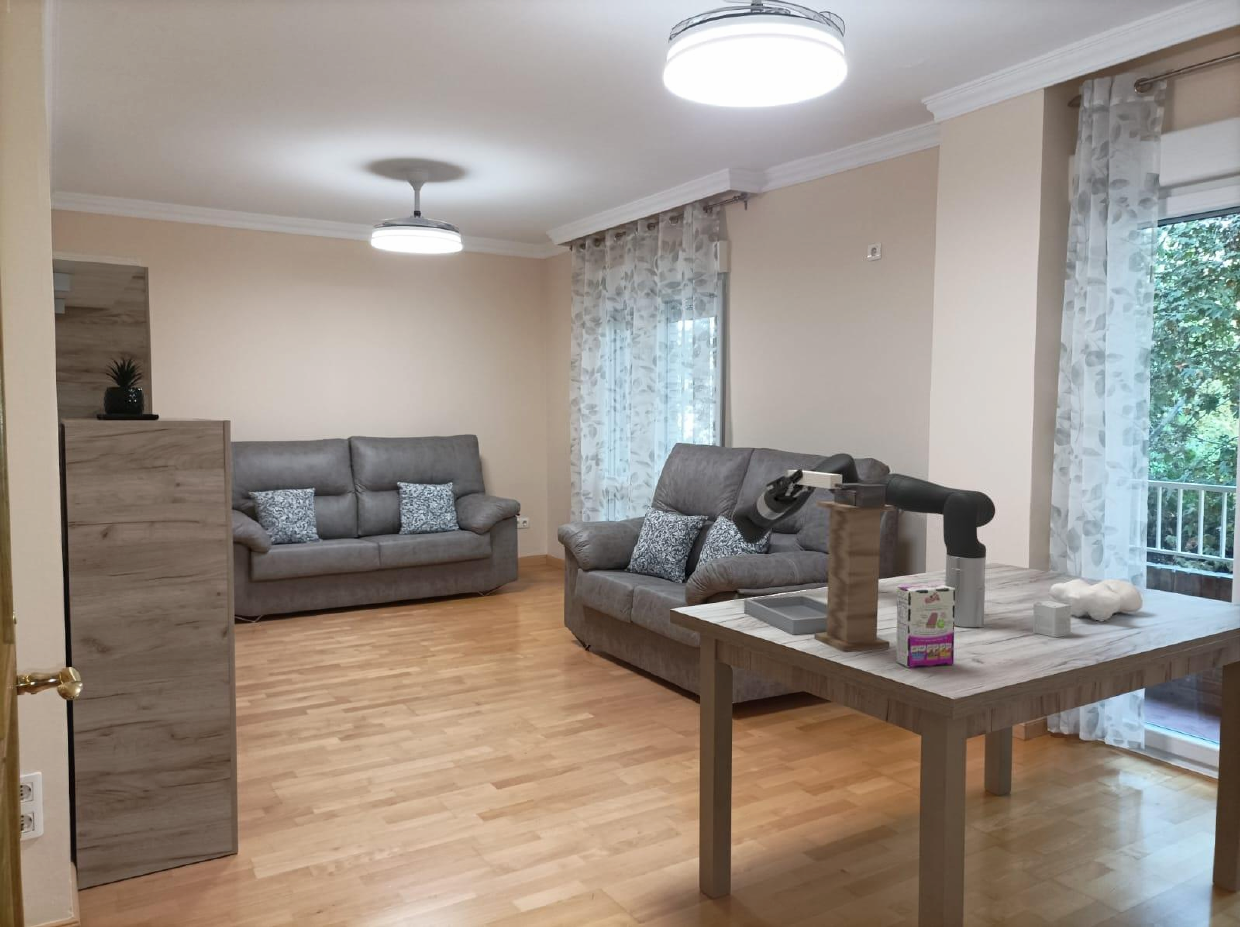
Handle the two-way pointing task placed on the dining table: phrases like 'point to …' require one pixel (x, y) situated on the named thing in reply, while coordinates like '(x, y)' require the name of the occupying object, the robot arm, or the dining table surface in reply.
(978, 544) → the robot arm
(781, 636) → the dining table surface
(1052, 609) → the skincare box
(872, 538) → the socket stand
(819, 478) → the plug
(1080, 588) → the torso sculpture
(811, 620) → the tray
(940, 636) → the candy bar box
